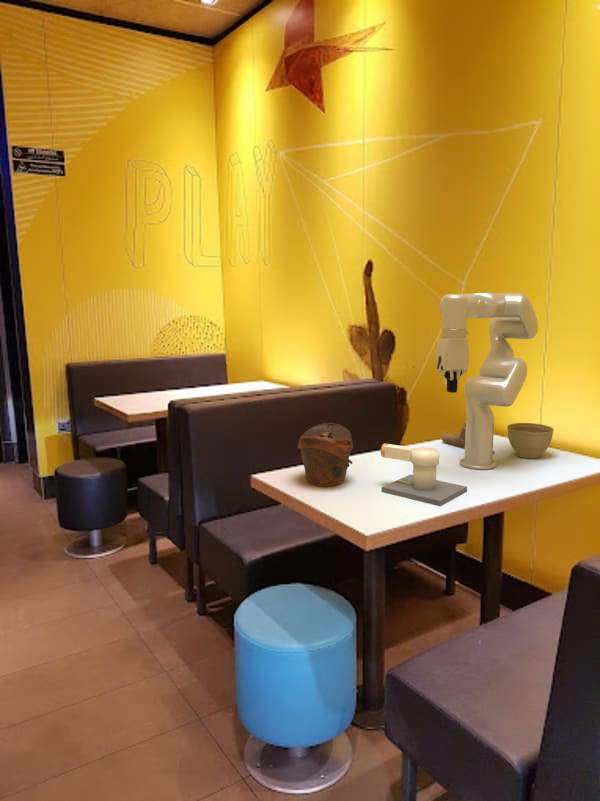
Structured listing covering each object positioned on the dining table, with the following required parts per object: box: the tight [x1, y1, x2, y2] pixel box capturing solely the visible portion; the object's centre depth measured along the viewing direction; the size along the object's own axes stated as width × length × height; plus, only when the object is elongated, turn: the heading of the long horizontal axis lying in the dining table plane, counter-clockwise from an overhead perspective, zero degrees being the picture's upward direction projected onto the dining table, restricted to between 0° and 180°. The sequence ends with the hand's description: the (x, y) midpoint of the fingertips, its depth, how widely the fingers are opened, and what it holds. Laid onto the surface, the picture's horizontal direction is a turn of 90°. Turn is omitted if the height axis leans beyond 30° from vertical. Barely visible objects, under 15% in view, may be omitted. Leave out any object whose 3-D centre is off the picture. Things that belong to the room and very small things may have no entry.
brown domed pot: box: [297, 422, 354, 487], centre depth 193 cm, size 18×20×18 cm
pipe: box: [441, 422, 466, 449], centre depth 237 cm, size 6×17×10 cm, turn 34°
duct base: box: [381, 463, 468, 507], centre depth 183 cm, size 17×20×9 cm
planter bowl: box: [506, 422, 555, 459], centre depth 222 cm, size 16×16×11 cm
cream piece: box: [380, 443, 440, 466], centre depth 184 cm, size 18×8×4 cm, turn 55°
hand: (451, 391), depth 190 cm, fingers closed
